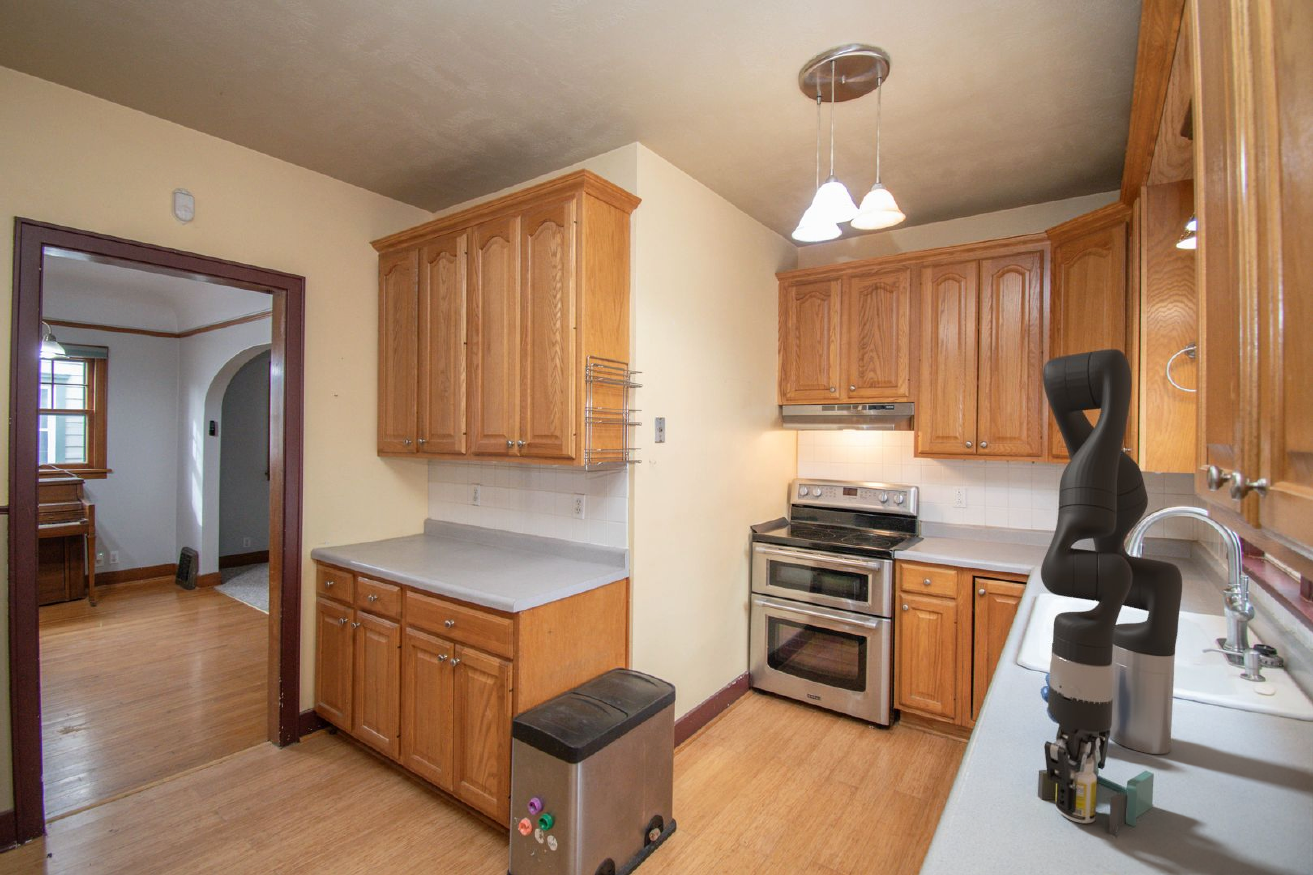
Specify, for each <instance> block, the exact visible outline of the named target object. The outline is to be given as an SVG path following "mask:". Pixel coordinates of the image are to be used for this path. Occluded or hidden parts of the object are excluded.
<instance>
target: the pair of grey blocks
mask: <svg viewBox="0 0 1313 875" xmlns="http://www.w3.org/2000/svg"><path fill="white" fill-rule="evenodd" d="M1037 797H1038V798H1039V799H1040V800H1041V801H1042V800H1043V801H1044V800H1056V783H1055V782H1053V781H1050V780H1048V777H1047V769H1043V770H1042V769H1041V770H1040V769H1039V770H1038V782H1037ZM1109 803H1110V804H1109V806H1110V807H1109V823H1108V829H1109V835H1110V836H1111V837H1114V838H1115V837H1116V838H1118V829H1119V828H1120V827H1122V826H1123V825H1125V824H1126V811H1127V795H1126V794H1124V793H1122V792H1118V793H1117V794H1115V795H1113V796H1112V797H1110V802H1109Z"/></svg>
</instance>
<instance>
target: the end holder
mask: <svg viewBox="0 0 1313 875" xmlns="http://www.w3.org/2000/svg"><path fill="white" fill-rule="evenodd" d="M1154 775H1155V774H1154V773H1152V772H1151V771H1148V770H1144V771H1142V772H1141V773H1139V774H1136V775H1135V776H1134V777H1132V778H1131V779H1129V780H1128V781H1126V787H1124V786H1122V785H1121V784H1118V783H1116V782H1115V781H1112V780H1110V779H1108V778H1105V777H1103V776H1100V775H1099V774H1098V776H1097V777H1096V778H1097V783H1099V784H1101V785H1103V786H1105V787H1108V788H1109V789H1112V790H1114V791H1117V792H1118V793H1120V792H1122V793H1124V794H1126V795H1127V811H1126V823H1125V824H1126V825H1129V826H1132V827H1136V823H1137V822H1136V821H1137V820H1136V819H1137V818H1138V817H1139V816H1141V815H1143V814H1144V813H1146V812H1147V811H1149V810H1151V809H1152V808H1153V800H1154Z"/></svg>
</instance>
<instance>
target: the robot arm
mask: <svg viewBox="0 0 1313 875" xmlns="http://www.w3.org/2000/svg"><path fill="white" fill-rule="evenodd" d="M1042 371H1043V372H1042V383H1043V388H1044V392H1045V395H1046V399H1047V401H1048V403H1049V404H1048V405H1049V406H1050V410H1051V411H1052V414H1053V418H1054V419H1055V421H1056V424H1057V426H1058V430H1059V431H1060V434H1061V437H1062V439H1063V441H1064V444H1065V448H1066V450H1067V453H1068V457H1069V462H1068V463H1067V465H1066V466H1065V468H1064V470H1063V472H1062V475H1061V477H1060V481H1059V490H1058V491H1059V493H1058V512H1057V523H1056V527H1055V531H1054V533H1053V536H1052V539H1051V542H1050V545H1049V547H1048V550H1047V551H1046V554H1045V556H1044V558H1043V561H1042V564H1041V566H1040V567H1041V568H1040V577H1041V582H1042V583H1043V585H1044V587H1045V588H1046V589H1047V591H1048V592H1049V593H1051V594H1053V595H1056V596H1060V597H1061V596H1062V597H1065V598H1066V597H1067V598H1074V599H1080V600H1088V601H1096V602H1098V603H1097V605H1095V607H1094V608H1092V609H1089V610H1084V611H1065V612H1060V613H1058V614H1057V615H1056V616H1055V617H1054V619H1053V620H1054V621H1053V629H1052V630H1053V632H1052V633H1053V635H1052V643H1053V652H1052V651H1051V659H1050V665H1049V673H1050V676H1049V698H1048V703H1047V705H1048V706H1047V707H1048V712H1049V714H1050V715H1051V716H1052V717H1053V718H1054V719H1055V720H1056V721H1057V722H1058V728H1057V732H1056V736H1055V742H1054V743H1053V742H1050V741H1048V740H1047V741H1045V743H1044V757H1045V765H1046V766H1045V767H1046V768H1045V769H1046V770H1047V777H1048V780H1050V781H1053V782H1055V783H1057V797H1056V799H1055V806H1056V805H1057V807H1058V808H1059V809H1061V810H1063V811H1065V812H1067V813H1069V814H1073V813H1074V812H1075V811H1076V790H1077V788H1076V786H1077V781H1078V776H1079V774H1080V773H1083V772H1084V768H1085V763H1086V759H1088V758H1090V757H1091V758H1092V759H1093V761H1094V771H1093V772H1094V773H1095V775H1096V777H1097V776H1098V775H1099V772H1100V771H1099V769H1100V770H1103V769H1104V768H1105V766H1106V759H1107V753H1108V747H1109V740H1112V741H1113V742H1115V743H1117V744H1119V745H1121V746H1124V747H1125V748H1129V749H1131V750H1134V751H1138V752H1142V753H1146V754H1152V755H1154V754H1155V755H1164V754H1165V755H1166V754H1168V753H1170V751H1171V744H1172V743H1171V742H1172V741H1171V740H1172V723H1173V722H1172V720H1173V705H1174V704H1173V700H1174V682H1175V660H1176V658H1175V657H1176V644H1177V639H1178V630H1179V617H1180V608H1181V601H1182V593H1183V577H1182V573H1181V570H1180V569H1179V567H1178V566H1177V565H1176V564H1175V563H1174V564H1173V563H1171V562H1167V561H1161V560H1158V559H1157V560H1156V559H1151V558H1144V557H1139V556H1133V555H1129V553H1127V551H1126V548H1125V540H1126V539H1127V536H1128V535H1129V533H1130V532H1131V531H1132V530H1133V529H1134V528H1135V526H1136V525H1137V524H1138V523H1139V522H1140V520H1141V519H1142V517H1143V516H1144V514H1145V512H1146V510H1147V508H1148V504H1149V498H1148V494H1147V493H1148V492H1147V489H1146V486H1145V485H1146V484H1145V481H1144V477H1143V475H1142V474H1143V473H1142V471H1141V468H1140V467H1139V465H1138V464H1137V462H1136V461H1135V460H1134V458H1132V457H1131V456H1130V455H1129V454H1128V453H1126V452H1125V451H1124V450H1123V445H1124V439H1125V434H1126V427H1127V423H1128V422H1127V421H1128V416H1129V410H1130V402H1131V398H1132V384H1133V383H1132V382H1133V379H1132V370H1131V366H1130V364H1129V361H1128V359H1127V357H1126V355H1125V353H1124V352H1123V351H1121V350H1119V349H1117V348H1110V349H1109V348H1108V349H1100V350H1094V351H1088V352H1081V353H1080V352H1079V353H1075V354H1069V355H1062V356H1057V357H1053V358H1051V359H1048V360H1047V362H1045V363H1044V366H1043V370H1042ZM1099 409H1100V413H1099V415H1098V419H1097V421H1096V425H1095V426H1093V424H1091V422H1090V421H1089V419H1088V417H1087V416H1086V414H1085V413H1084V411H1090V410H1092V411H1093V410H1099ZM1090 539H1092V540H1093V546H1094V550H1090V549H1089V550H1088V549H1081V548H1073V547H1072V546H1073V545H1075V544H1076V542H1078V541H1081V540H1090ZM1123 606H1124V607H1129V608H1132V609H1137V610H1142V611H1145V612H1148V615H1147V619H1146V620H1145V621H1142V622H1131V623H1129V622H1127V623H1125V622H1124V623H1119V624H1117V622H1118V618H1119V615H1120V612H1121V610H1122V608H1123ZM1110 731H1111V733H1110ZM1109 734H1110V736H1109ZM1068 759H1070V760H1072V761H1075V762H1077V764H1076V765H1074V764H1072V763H1069V762H1068ZM1069 769H1070V770H1071V776H1070V772H1069Z"/></svg>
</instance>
